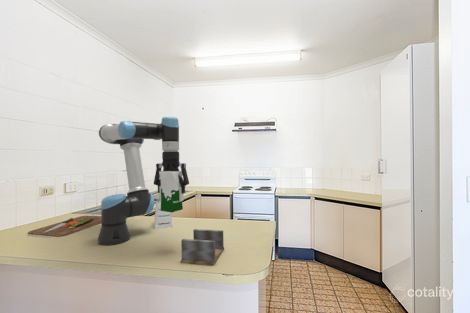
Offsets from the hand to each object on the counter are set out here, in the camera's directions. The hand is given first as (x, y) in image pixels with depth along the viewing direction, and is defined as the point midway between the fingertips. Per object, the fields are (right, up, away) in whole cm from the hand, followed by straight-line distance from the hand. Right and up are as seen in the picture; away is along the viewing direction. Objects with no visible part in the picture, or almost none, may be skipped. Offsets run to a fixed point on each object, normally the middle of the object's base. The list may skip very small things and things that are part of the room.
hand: (171, 200), depth 111 cm
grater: (-16, -24, +41) cm, 50 cm away
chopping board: (-74, -25, +45) cm, 91 cm away
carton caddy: (+15, -23, -5) cm, 28 cm away
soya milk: (0, -5, 0) cm, 5 cm away
